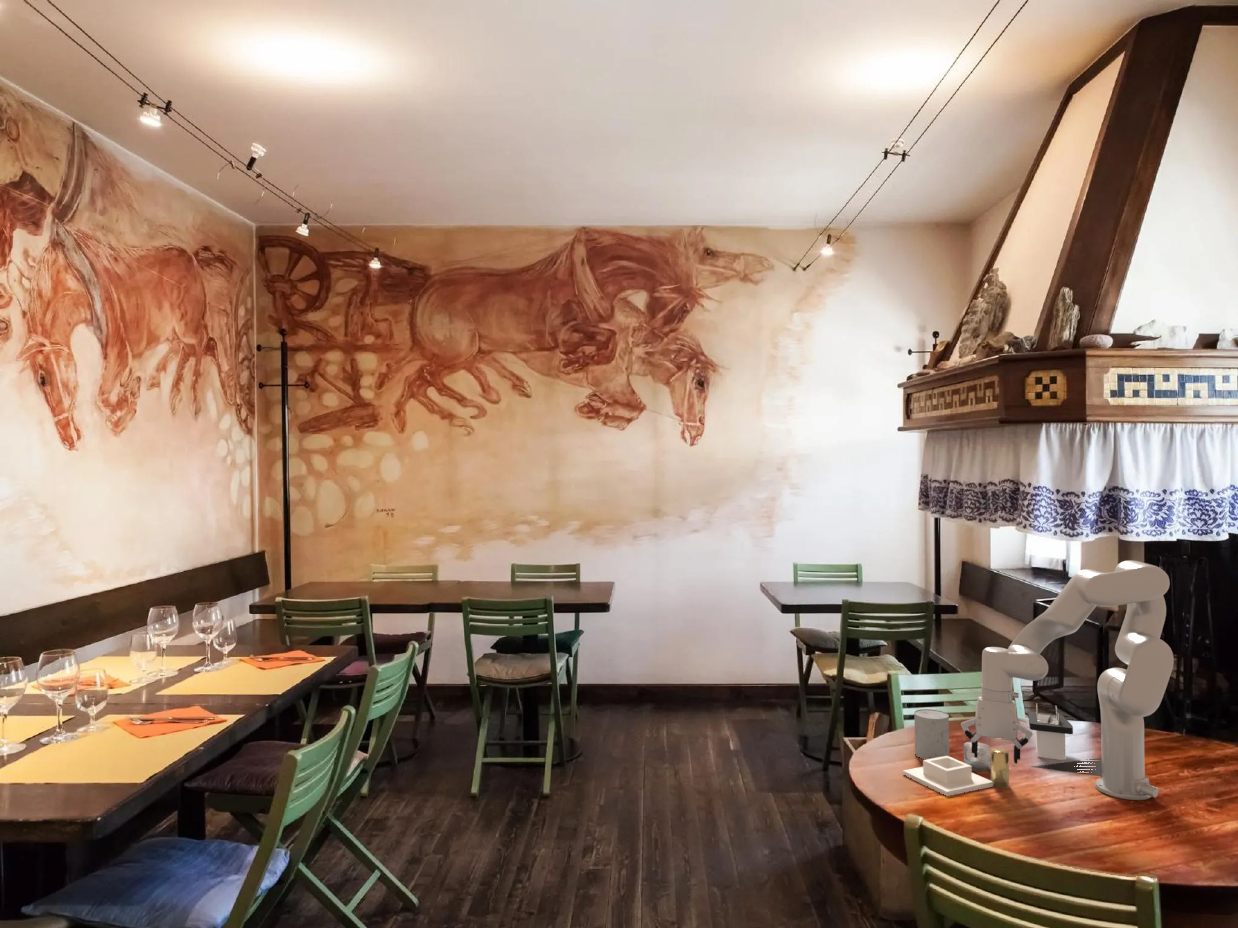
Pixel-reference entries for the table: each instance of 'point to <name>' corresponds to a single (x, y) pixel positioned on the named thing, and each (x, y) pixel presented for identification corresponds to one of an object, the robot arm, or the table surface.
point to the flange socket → (947, 776)
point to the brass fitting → (999, 767)
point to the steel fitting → (982, 757)
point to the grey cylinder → (931, 733)
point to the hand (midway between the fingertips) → (995, 758)
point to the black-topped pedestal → (1056, 741)
